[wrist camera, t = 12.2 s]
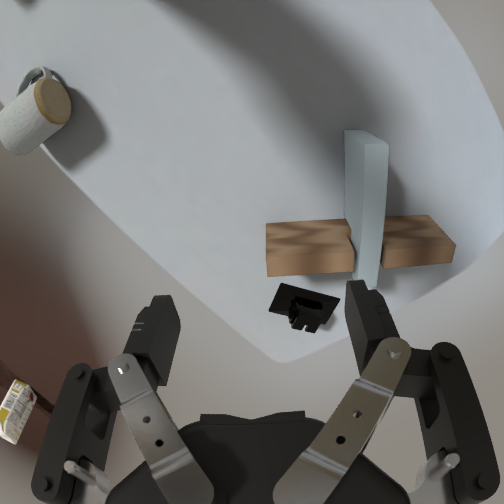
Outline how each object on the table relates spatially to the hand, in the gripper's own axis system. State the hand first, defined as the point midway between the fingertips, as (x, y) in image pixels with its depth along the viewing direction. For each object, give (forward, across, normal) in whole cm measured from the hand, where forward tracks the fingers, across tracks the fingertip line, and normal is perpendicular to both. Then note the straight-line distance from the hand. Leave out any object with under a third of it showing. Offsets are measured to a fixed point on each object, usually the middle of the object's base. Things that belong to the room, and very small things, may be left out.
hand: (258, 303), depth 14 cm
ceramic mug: (+25, +27, -13) cm, 39 cm away
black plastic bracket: (+25, -4, +22) cm, 33 cm away
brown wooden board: (+24, -11, +10) cm, 28 cm away
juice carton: (+24, +76, +53) cm, 96 cm away
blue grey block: (+24, -11, +6) cm, 27 cm away
